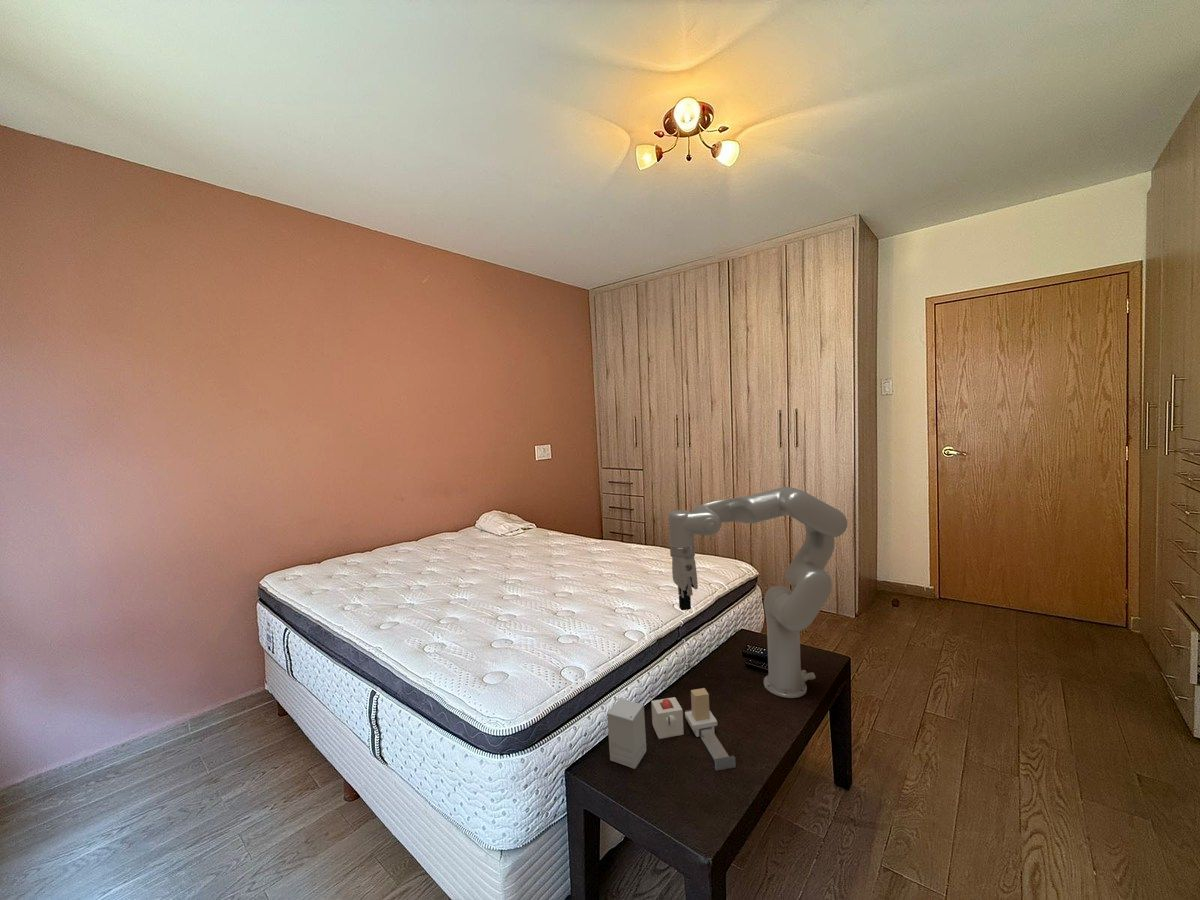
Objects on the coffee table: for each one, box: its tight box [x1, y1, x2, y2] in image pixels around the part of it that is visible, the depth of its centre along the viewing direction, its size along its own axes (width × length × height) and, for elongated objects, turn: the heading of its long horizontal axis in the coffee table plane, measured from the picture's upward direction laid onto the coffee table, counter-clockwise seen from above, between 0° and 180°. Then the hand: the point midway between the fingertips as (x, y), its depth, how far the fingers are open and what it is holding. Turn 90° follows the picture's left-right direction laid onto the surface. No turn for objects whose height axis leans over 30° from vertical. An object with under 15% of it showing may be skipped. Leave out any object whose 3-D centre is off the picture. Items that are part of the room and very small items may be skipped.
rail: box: [684, 708, 737, 772], centre depth 122 cm, size 5×21×2 cm, turn 10°
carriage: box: [684, 687, 718, 738], centre depth 126 cm, size 7×6×10 cm
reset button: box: [662, 698, 671, 710], centre depth 127 cm, size 2×2×5 cm
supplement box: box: [606, 697, 647, 770], centre depth 117 cm, size 7×7×13 cm
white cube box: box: [650, 696, 685, 740], centre depth 126 cm, size 7×7×7 cm
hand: (685, 608), depth 142 cm, fingers closed
